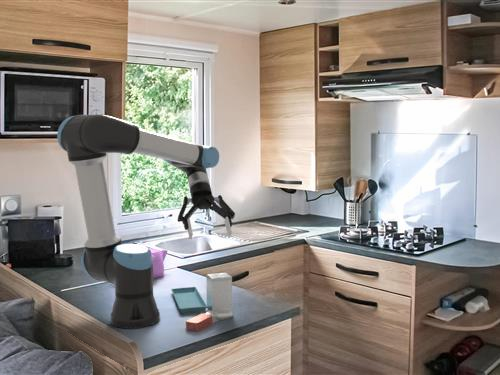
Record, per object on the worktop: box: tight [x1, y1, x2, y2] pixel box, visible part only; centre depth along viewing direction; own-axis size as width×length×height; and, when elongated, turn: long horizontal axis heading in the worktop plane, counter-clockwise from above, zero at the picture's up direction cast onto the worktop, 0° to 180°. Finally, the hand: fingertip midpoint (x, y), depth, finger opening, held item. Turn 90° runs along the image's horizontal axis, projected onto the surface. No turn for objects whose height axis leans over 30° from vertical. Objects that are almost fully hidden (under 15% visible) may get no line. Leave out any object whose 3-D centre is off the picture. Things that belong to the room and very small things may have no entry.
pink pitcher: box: [148, 247, 168, 280], centre depth 238 cm, size 17×17×12 cm
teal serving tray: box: [170, 286, 207, 315], centre depth 202 cm, size 26×9×2 cm, turn 14°
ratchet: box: [185, 309, 233, 333], centre depth 182 cm, size 19×8×7 cm, turn 149°
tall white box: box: [206, 272, 233, 314], centre depth 186 cm, size 6×6×11 cm
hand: (210, 235), depth 200 cm, fingers open, 13 cm apart
